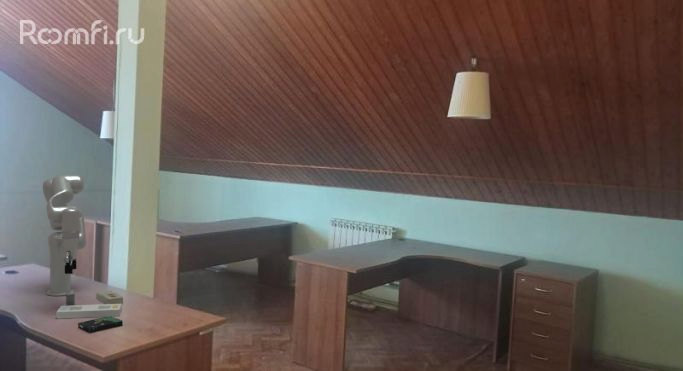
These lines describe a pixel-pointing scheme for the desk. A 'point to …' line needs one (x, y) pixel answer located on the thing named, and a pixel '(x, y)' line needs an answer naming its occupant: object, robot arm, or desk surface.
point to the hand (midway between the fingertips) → (70, 271)
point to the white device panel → (89, 311)
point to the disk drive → (100, 324)
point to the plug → (70, 298)
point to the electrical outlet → (109, 297)
